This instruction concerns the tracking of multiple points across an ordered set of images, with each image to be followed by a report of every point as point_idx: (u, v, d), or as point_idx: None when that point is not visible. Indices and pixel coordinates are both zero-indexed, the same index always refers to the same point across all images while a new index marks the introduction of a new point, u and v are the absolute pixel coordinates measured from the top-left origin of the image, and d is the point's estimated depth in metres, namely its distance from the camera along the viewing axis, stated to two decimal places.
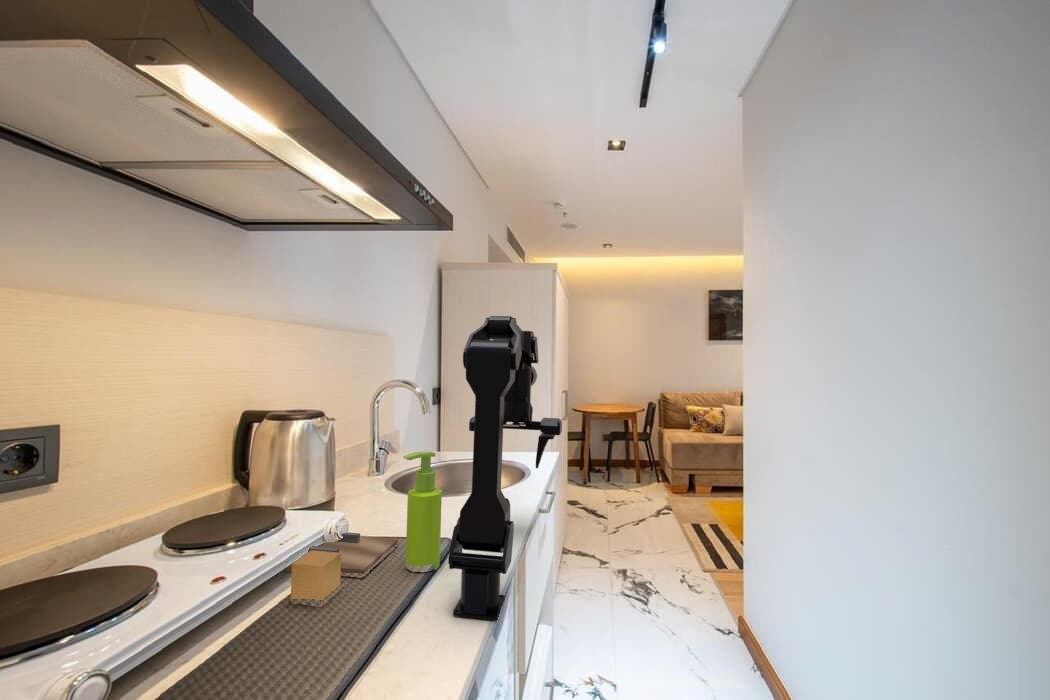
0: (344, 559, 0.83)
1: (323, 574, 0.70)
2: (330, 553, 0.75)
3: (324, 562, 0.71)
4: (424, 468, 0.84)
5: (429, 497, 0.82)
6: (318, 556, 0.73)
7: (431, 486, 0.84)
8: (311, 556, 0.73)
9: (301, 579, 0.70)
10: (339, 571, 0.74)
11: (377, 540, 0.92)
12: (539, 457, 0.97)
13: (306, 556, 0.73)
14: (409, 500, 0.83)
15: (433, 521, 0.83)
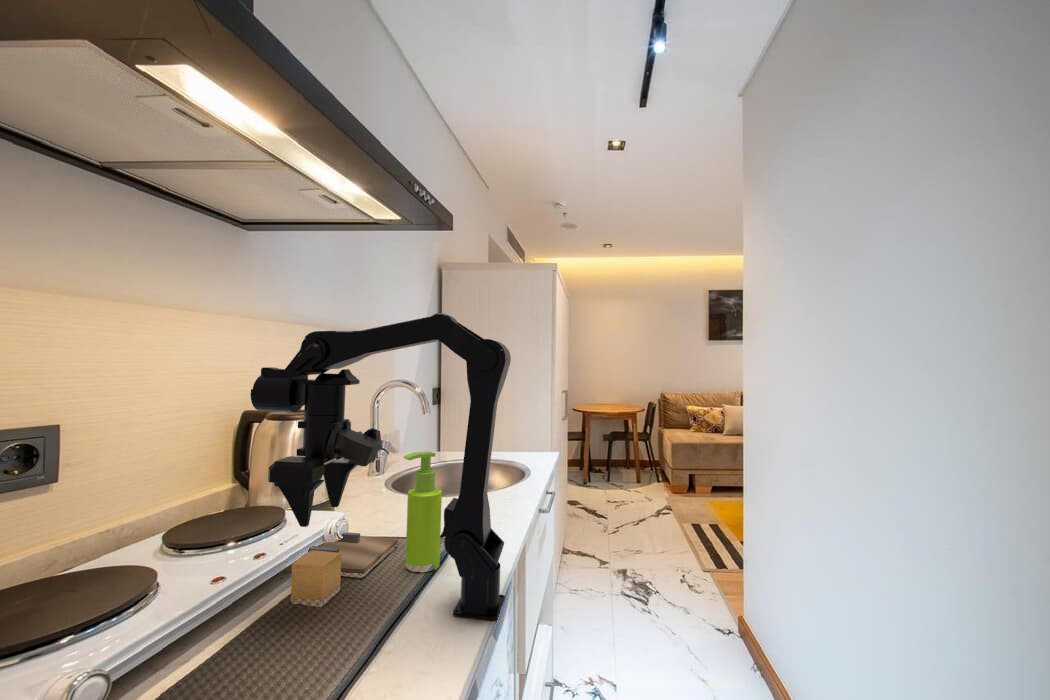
0: (344, 559, 0.83)
1: (323, 574, 0.70)
2: (330, 552, 0.75)
3: (324, 561, 0.71)
4: (424, 468, 0.84)
5: (429, 497, 0.82)
6: (318, 556, 0.73)
7: (431, 486, 0.84)
8: (311, 556, 0.73)
9: (301, 579, 0.70)
10: (339, 571, 0.75)
11: (377, 540, 0.92)
12: None
13: (306, 556, 0.73)
14: (409, 500, 0.83)
15: (433, 521, 0.83)
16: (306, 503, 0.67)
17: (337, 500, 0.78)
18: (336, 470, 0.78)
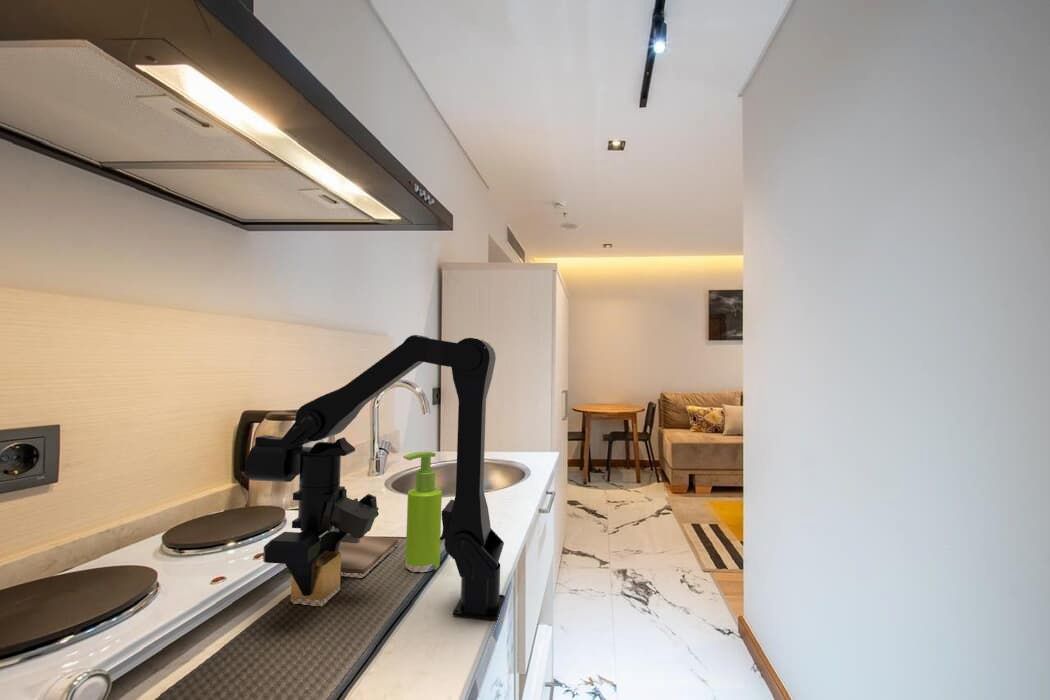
0: (344, 559, 0.83)
1: (323, 574, 0.70)
2: (330, 552, 0.75)
3: (324, 561, 0.71)
4: (424, 468, 0.84)
5: (429, 497, 0.82)
6: None
7: (431, 486, 0.84)
8: None
9: None
10: (339, 570, 0.75)
11: (377, 540, 0.92)
12: None
13: None
14: (409, 500, 0.83)
15: (433, 521, 0.83)
16: (309, 573, 0.69)
17: None
18: (326, 540, 0.76)
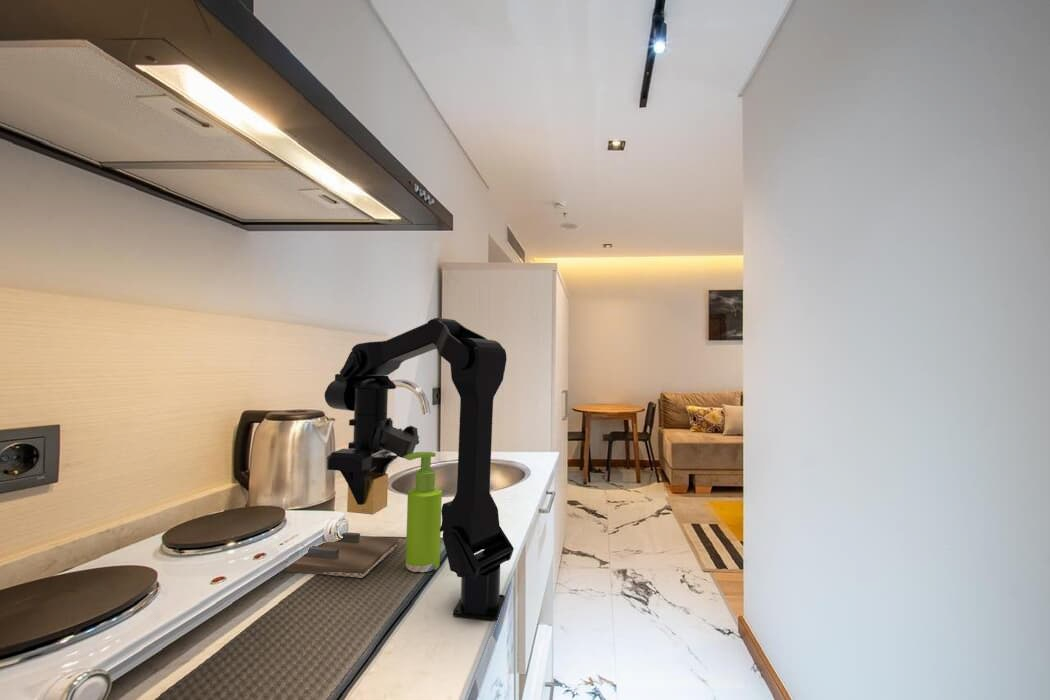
0: (344, 559, 0.83)
1: (373, 486, 0.84)
2: (379, 473, 0.89)
3: (374, 477, 0.85)
4: (424, 468, 0.84)
5: (429, 497, 0.82)
6: (369, 474, 0.87)
7: (431, 486, 0.84)
8: None
9: None
10: (386, 488, 0.88)
11: (377, 540, 0.92)
12: None
13: None
14: (409, 500, 0.83)
15: (433, 521, 0.83)
16: (362, 485, 0.83)
17: None
18: (376, 464, 0.90)
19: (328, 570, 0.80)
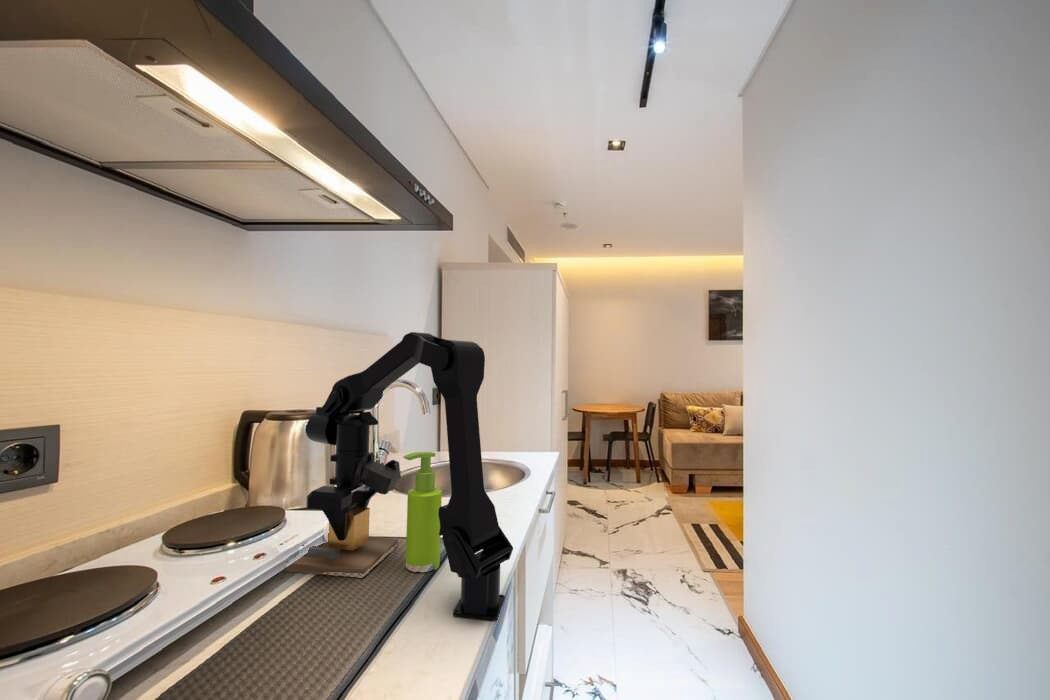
0: (344, 559, 0.83)
1: (354, 523, 0.84)
2: (361, 507, 0.89)
3: (355, 513, 0.86)
4: (424, 468, 0.84)
5: (429, 497, 0.82)
6: (351, 509, 0.88)
7: (431, 486, 0.84)
8: None
9: None
10: (368, 523, 0.89)
11: (377, 540, 0.92)
12: None
13: None
14: (409, 500, 0.83)
15: (433, 521, 0.83)
16: (343, 521, 0.83)
17: None
18: (358, 497, 0.90)
19: (328, 570, 0.80)
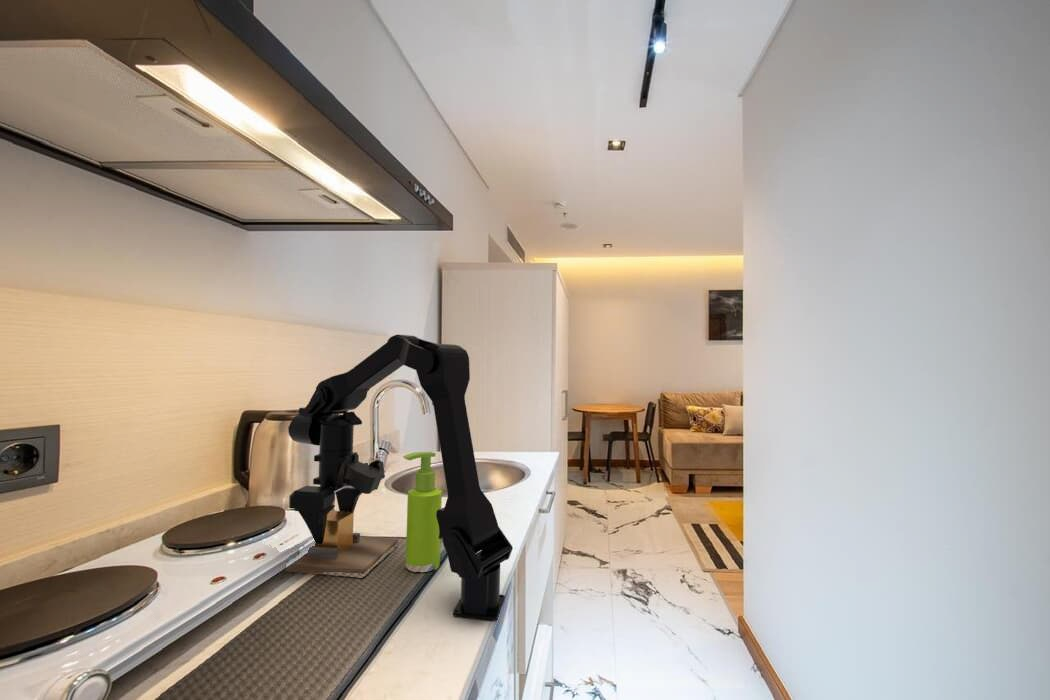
0: (344, 559, 0.83)
1: (338, 528, 0.85)
2: (344, 512, 0.89)
3: (339, 518, 0.86)
4: (424, 468, 0.84)
5: (429, 497, 0.82)
6: (335, 514, 0.88)
7: (431, 486, 0.84)
8: (329, 514, 0.88)
9: None
10: (352, 527, 0.89)
11: (377, 540, 0.92)
12: None
13: None
14: (409, 500, 0.83)
15: (433, 521, 0.83)
16: (320, 524, 0.82)
17: None
18: (347, 494, 0.92)
19: (328, 570, 0.80)
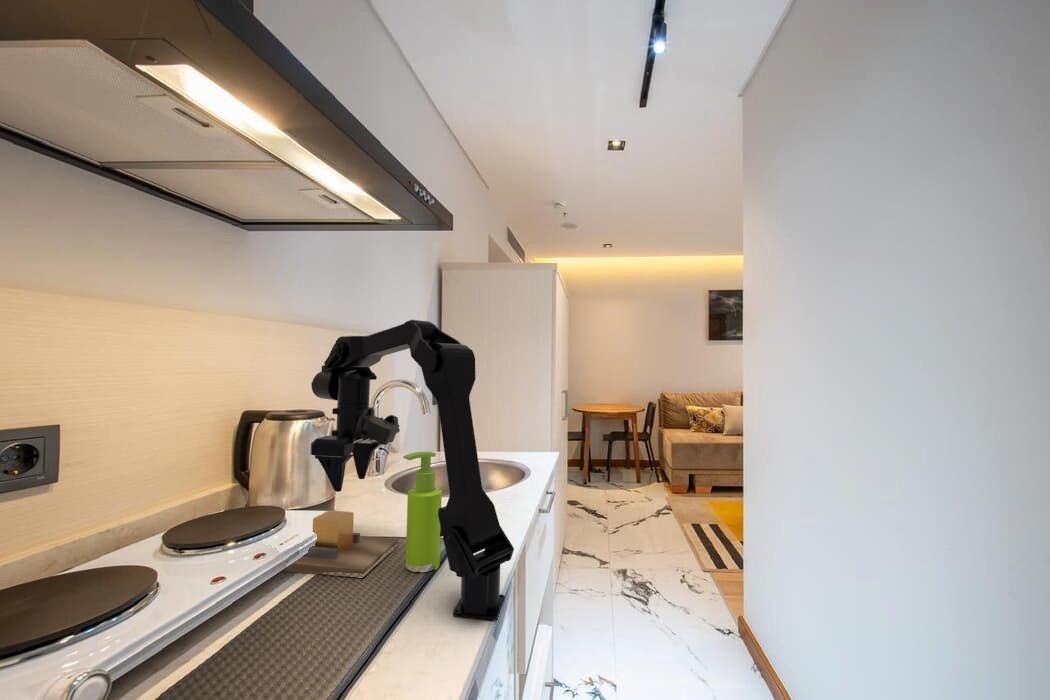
0: (344, 559, 0.83)
1: (338, 528, 0.85)
2: (344, 512, 0.89)
3: (339, 518, 0.86)
4: (424, 468, 0.84)
5: (429, 497, 0.82)
6: (335, 514, 0.88)
7: (431, 486, 0.84)
8: (329, 514, 0.88)
9: (320, 531, 0.85)
10: (352, 527, 0.89)
11: (377, 540, 0.92)
12: None
13: (324, 514, 0.88)
14: (409, 500, 0.83)
15: (433, 521, 0.83)
16: (339, 472, 0.85)
17: (363, 473, 0.96)
18: (362, 449, 0.96)
19: (328, 570, 0.80)
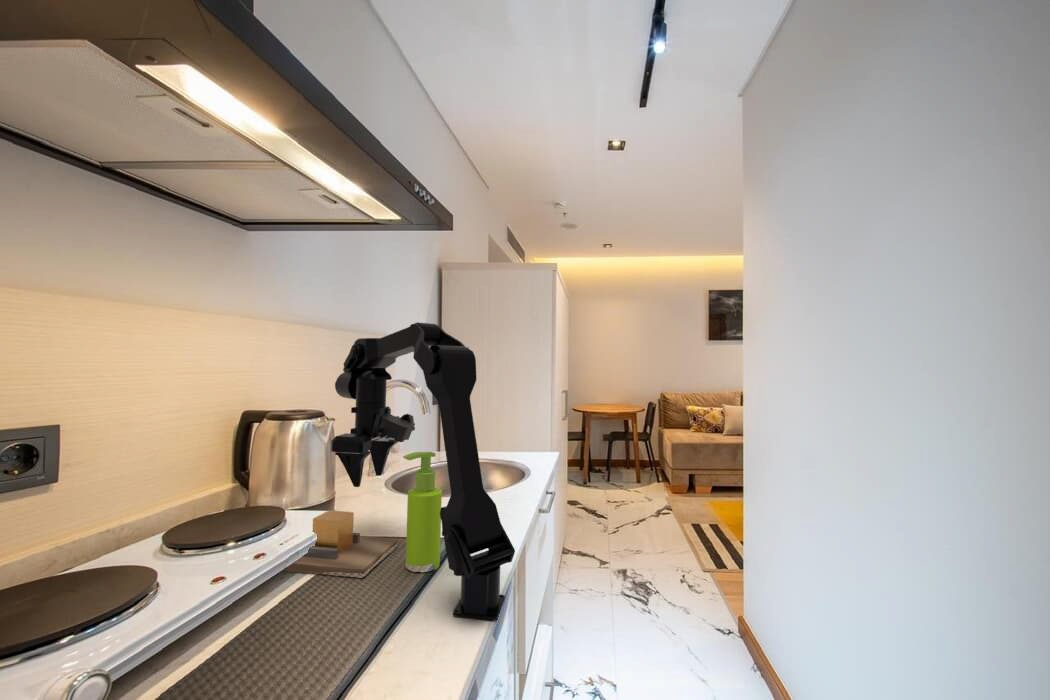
0: (344, 559, 0.83)
1: (338, 528, 0.85)
2: (344, 512, 0.89)
3: (339, 518, 0.86)
4: (424, 468, 0.84)
5: (429, 497, 0.82)
6: (335, 514, 0.88)
7: (431, 486, 0.84)
8: (329, 514, 0.88)
9: (320, 531, 0.85)
10: (352, 527, 0.89)
11: (377, 540, 0.92)
12: None
13: (324, 514, 0.88)
14: (409, 500, 0.83)
15: (433, 521, 0.83)
16: (358, 468, 0.89)
17: (380, 470, 0.99)
18: (379, 447, 1.00)
19: (328, 570, 0.80)
